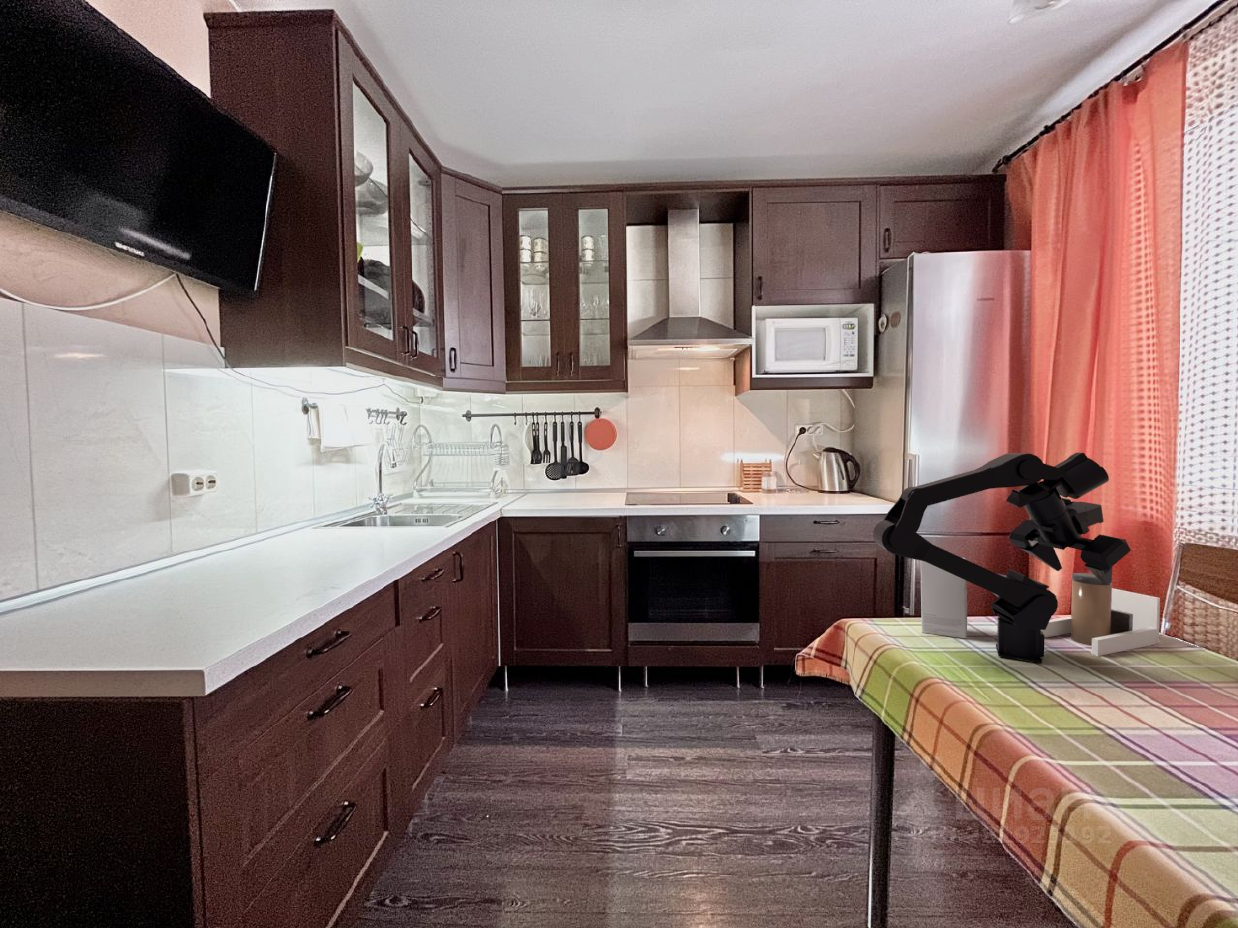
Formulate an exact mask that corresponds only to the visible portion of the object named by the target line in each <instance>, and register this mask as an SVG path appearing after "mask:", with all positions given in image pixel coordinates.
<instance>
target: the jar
mask: <svg viewBox="0 0 1238 928" xmlns="http://www.w3.org/2000/svg"><path fill="white" fill-rule="evenodd" d="M1112 588H1113V581H1112V582H1111V583H1110V584H1109V585H1105V584H1104V583H1102V582H1101V581H1100V580H1099V579H1098V578H1097V577H1096V576H1095V575H1094V574H1093V573H1091V572H1090V573H1089V572H1073V573H1072V574H1071V605H1070V606H1071V609H1070V610H1071V612H1070V613H1071V614H1070V616H1071V633H1070V640H1072V641H1074V642H1076V643H1079V644H1082V645H1086V646H1091V647H1092V638H1096V637H1102V636H1107V635H1111V604H1112Z"/></svg>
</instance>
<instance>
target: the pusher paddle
mask: <svg viewBox="0 0 1238 928" xmlns="http://www.w3.org/2000/svg"><path fill="white" fill-rule="evenodd" d="M1128 631H1133V614H1131V613H1126V612H1122V611H1118V610H1114V609H1111V635H1112V634H1118V633H1123V632H1128Z"/></svg>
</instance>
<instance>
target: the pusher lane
mask: <svg viewBox="0 0 1238 928" xmlns="http://www.w3.org/2000/svg"><path fill="white" fill-rule="evenodd" d="M1160 607H1161V598H1160V597H1157V596H1152V595H1147V594H1143V593H1139V592H1132V591H1127V590H1123V589H1118V588H1113V587H1112V604H1111V609H1114V610H1118V611H1122V612H1126V613H1131V614H1133V631H1128V632H1123V633H1118V634H1112V635H1107V636H1102V637H1096V638H1092V646H1091V652H1090V653H1091V655H1092V656H1096V657H1100V656H1105V655H1110V654H1116V653H1119V652H1120V653H1121V652H1123V651H1124V652H1125V651H1129V650H1130V651H1131V650H1134V649H1139V648H1143V647H1149V646H1154V645H1158V644H1160V615H1161V613H1160V610H1161V608H1160ZM1041 631H1042V632H1043V634H1044V636H1045V639H1046V638H1051V637H1057V636H1063V635H1066V634H1068V635H1069V634H1071V615H1070V616H1066V617H1065V616H1064V617H1059V618H1053V619H1052V618H1051V619H1050V621H1049V623H1048V625H1047V628H1046V629H1045V630H1041Z"/></svg>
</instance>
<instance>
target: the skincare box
mask: <svg viewBox="0 0 1238 928" xmlns="http://www.w3.org/2000/svg"><path fill="white" fill-rule="evenodd" d="M963 558H964V559H966V557H963ZM919 561H920V560H919ZM967 583H968V581H966V580H964V579H962V578H960V577H957V576H955V575H953V574H951V573H949V572H946V571H944V570H942V569H940V568H938V567H936V566H933V565H931V564H929V563H927V562H924V561H920V599H921V600H920V604H921V606H920V609H921V610H920V612H921V617H920V618H921V633H923V634H932V635H939V636H945V637H954V638H961V639H967V636H968V596H967V595H968V593H967V592H968V590H967Z"/></svg>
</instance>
